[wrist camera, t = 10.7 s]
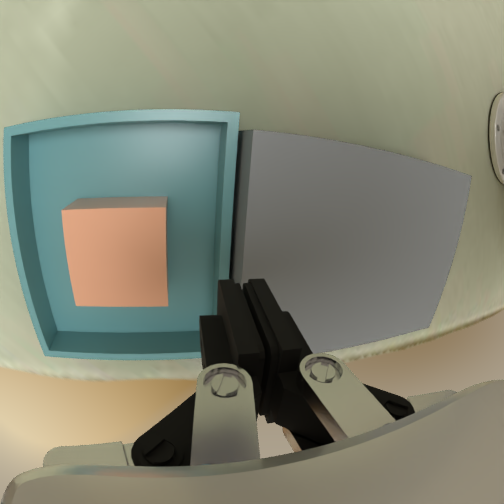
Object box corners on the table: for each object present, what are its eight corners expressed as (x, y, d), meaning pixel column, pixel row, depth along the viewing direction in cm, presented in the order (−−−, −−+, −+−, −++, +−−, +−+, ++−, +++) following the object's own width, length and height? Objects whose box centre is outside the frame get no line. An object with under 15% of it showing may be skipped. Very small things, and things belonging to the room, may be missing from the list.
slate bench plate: (430, 165, 22) (471, 175, 17) (398, 301, 27) (428, 327, 22) (233, 131, 17) (253, 129, 13) (223, 321, 22) (236, 364, 18)
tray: (230, 116, 17) (239, 112, 14) (219, 331, 23) (225, 356, 20) (26, 127, 13) (4, 127, 10) (55, 332, 19) (44, 356, 16)
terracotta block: (61, 210, 13) (77, 198, 16) (76, 305, 15) (87, 283, 18) (165, 207, 15) (167, 196, 17) (168, 306, 17) (168, 282, 19)
